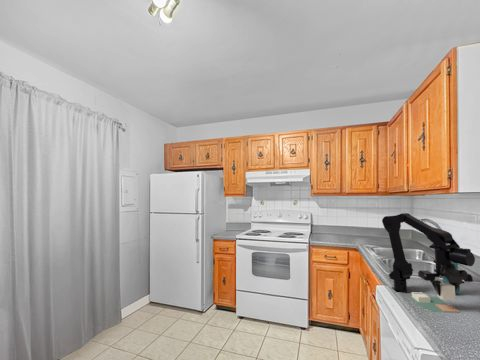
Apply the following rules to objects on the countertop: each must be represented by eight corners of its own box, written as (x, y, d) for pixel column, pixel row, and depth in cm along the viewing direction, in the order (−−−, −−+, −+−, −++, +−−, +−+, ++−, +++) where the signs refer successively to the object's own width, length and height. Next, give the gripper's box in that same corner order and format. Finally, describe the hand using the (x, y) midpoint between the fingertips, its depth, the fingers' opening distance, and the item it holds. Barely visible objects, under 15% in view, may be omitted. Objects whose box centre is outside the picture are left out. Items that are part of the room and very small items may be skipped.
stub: (436, 295, 109) (435, 282, 109) (449, 296, 108) (448, 282, 108) (442, 299, 105) (441, 285, 105) (455, 300, 104) (454, 286, 104)
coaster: (435, 305, 110) (435, 304, 110) (449, 305, 109) (449, 304, 109) (444, 311, 104) (444, 310, 104) (459, 312, 103) (459, 311, 103)
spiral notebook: (411, 296, 119) (411, 292, 119) (422, 297, 118) (422, 292, 118) (418, 302, 113) (418, 297, 113) (430, 302, 112) (430, 297, 112)
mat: (407, 296, 120) (407, 295, 120) (436, 297, 118) (436, 296, 118) (427, 312, 104) (426, 311, 104) (460, 313, 102) (460, 312, 102)
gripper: (431, 265, 101) (434, 302, 100) (482, 265, 98) (485, 304, 97) (416, 257, 112) (418, 291, 111) (461, 258, 109) (464, 293, 108)
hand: (445, 295), depth 106 cm, fingers closed on stub, 5 cm apart
